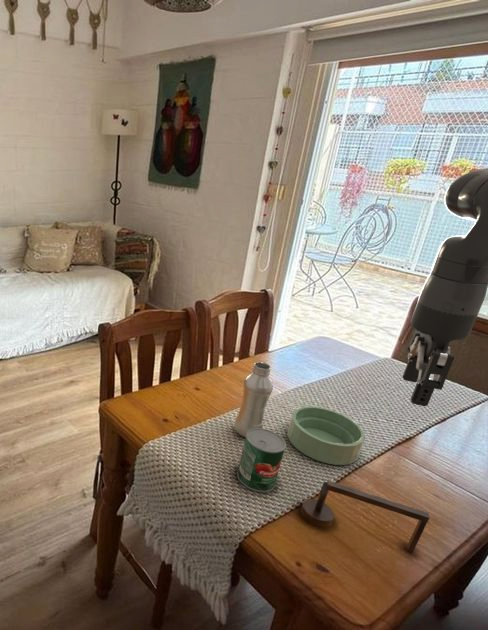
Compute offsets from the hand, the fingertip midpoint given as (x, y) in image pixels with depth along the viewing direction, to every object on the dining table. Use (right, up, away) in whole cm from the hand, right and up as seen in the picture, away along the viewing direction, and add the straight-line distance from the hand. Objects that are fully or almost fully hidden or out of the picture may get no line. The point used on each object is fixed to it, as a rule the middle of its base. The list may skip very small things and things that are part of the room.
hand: (413, 391), depth 75 cm
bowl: (+4, -19, +34) cm, 39 cm away
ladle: (-4, -29, +10) cm, 31 cm away
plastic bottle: (-14, -17, +37) cm, 43 cm away
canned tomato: (-18, -24, +22) cm, 37 cm away
